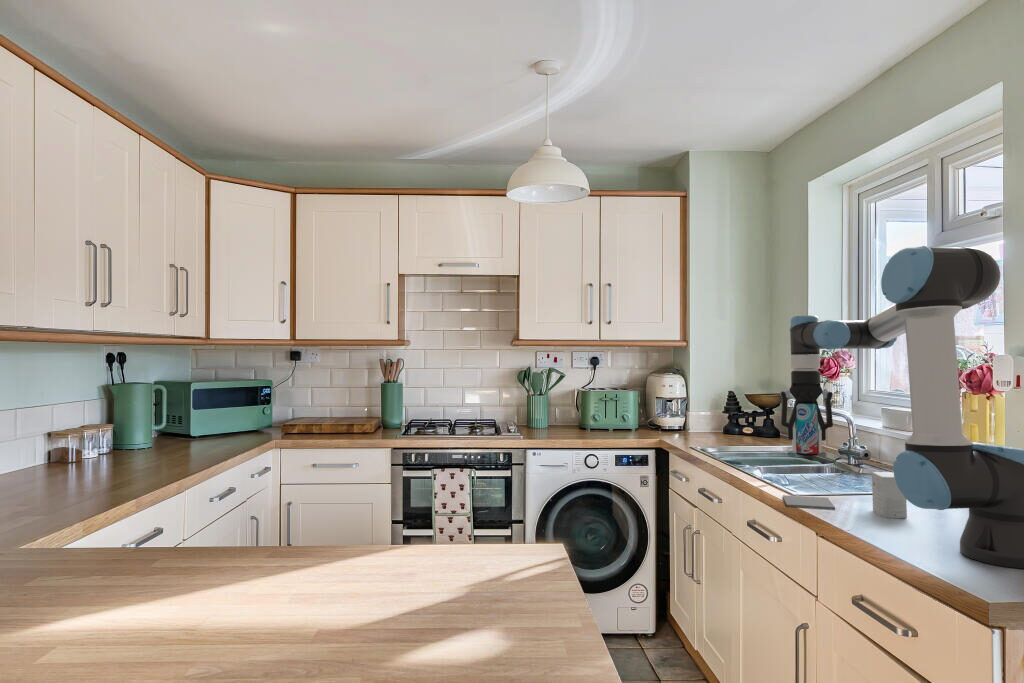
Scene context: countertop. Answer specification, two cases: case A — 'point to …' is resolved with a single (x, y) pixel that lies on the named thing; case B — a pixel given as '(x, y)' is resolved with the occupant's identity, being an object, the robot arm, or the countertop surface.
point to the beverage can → (806, 429)
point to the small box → (887, 496)
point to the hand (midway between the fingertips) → (806, 451)
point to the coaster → (808, 502)
